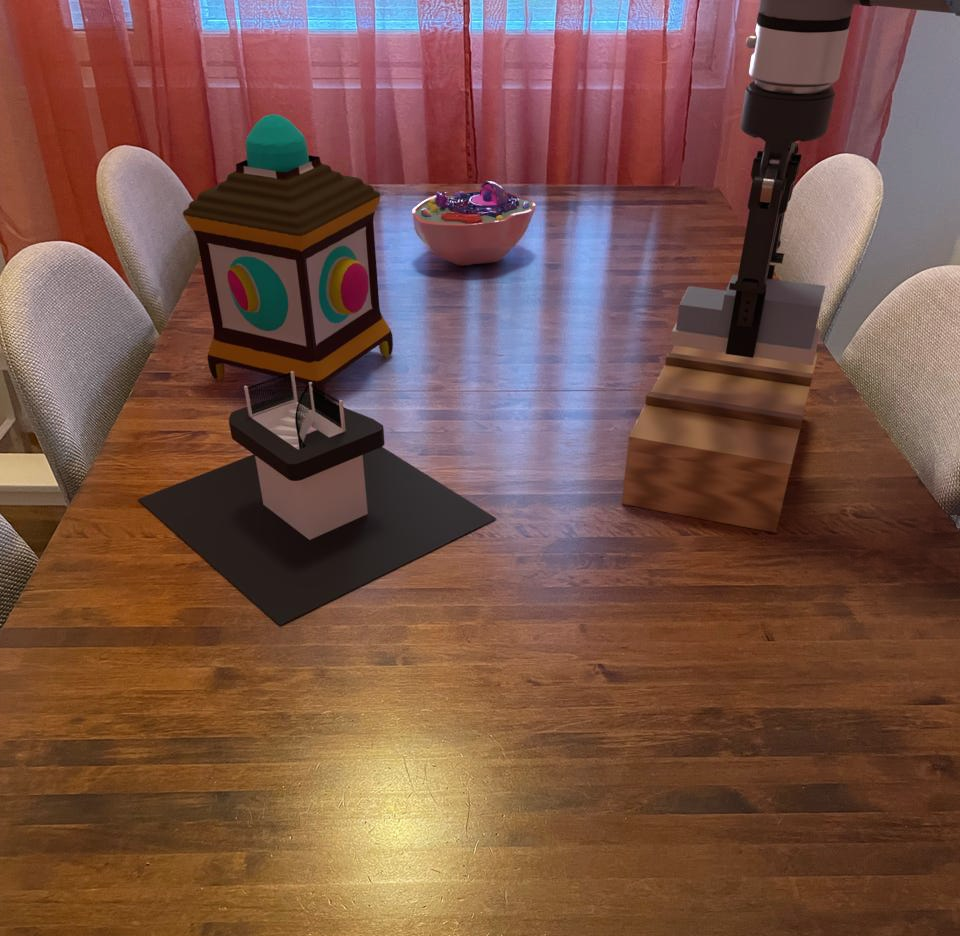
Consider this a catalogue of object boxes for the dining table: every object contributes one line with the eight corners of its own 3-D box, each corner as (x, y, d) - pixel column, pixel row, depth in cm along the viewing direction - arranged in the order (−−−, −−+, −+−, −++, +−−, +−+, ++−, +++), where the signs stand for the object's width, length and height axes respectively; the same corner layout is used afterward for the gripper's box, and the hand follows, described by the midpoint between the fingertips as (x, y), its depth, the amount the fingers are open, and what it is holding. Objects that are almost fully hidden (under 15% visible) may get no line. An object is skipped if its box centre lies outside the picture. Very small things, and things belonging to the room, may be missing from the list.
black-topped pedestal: (496, 519, 101) (498, 400, 93) (280, 626, 88) (258, 500, 79) (340, 421, 117) (329, 313, 109) (137, 500, 104) (106, 383, 95)
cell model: (395, 253, 161) (391, 180, 154) (501, 234, 168) (502, 163, 161) (441, 288, 150) (439, 210, 142) (553, 265, 157) (556, 190, 149)
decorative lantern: (408, 353, 132) (395, 104, 112) (325, 416, 118) (294, 146, 99) (286, 326, 139) (254, 87, 119) (195, 382, 125) (141, 124, 106)
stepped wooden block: (803, 418, 118) (819, 346, 112) (775, 533, 99) (793, 454, 93) (671, 397, 122) (680, 327, 116) (621, 504, 103) (629, 427, 98)
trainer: (817, 341, 100) (830, 285, 96) (812, 365, 95) (825, 308, 92) (681, 322, 103) (688, 268, 99) (670, 345, 99) (677, 289, 95)
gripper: (761, 59, 92) (722, 301, 107) (730, 104, 78) (690, 374, 93) (844, 64, 90) (792, 310, 105) (827, 111, 76) (770, 386, 91)
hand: (744, 340), depth 99 cm, fingers closed on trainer, 6 cm apart
